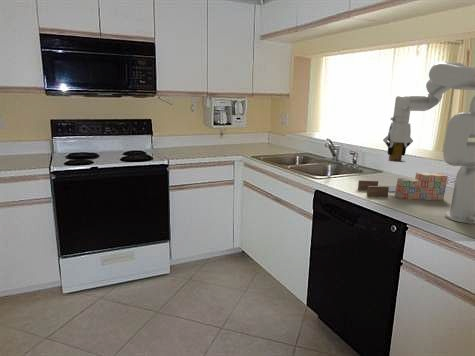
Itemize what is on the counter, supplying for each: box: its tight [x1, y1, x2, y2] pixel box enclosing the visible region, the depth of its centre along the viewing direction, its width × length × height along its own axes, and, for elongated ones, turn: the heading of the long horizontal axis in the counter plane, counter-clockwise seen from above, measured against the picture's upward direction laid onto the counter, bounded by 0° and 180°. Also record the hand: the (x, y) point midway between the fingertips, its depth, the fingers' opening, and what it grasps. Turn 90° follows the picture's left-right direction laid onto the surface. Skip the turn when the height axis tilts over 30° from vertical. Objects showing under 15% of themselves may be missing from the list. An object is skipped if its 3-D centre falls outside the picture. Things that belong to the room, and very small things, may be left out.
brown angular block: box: [357, 179, 389, 198], centre depth 180 cm, size 13×10×5 cm
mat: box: [387, 185, 396, 193], centre depth 189 cm, size 12×12×1 cm
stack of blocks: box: [394, 172, 448, 201], centre depth 173 cm, size 21×6×12 cm, turn 93°
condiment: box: [387, 143, 406, 163], centre depth 185 cm, size 7×8×12 cm
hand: (396, 154), depth 185 cm, fingers closed on condiment, 6 cm apart
